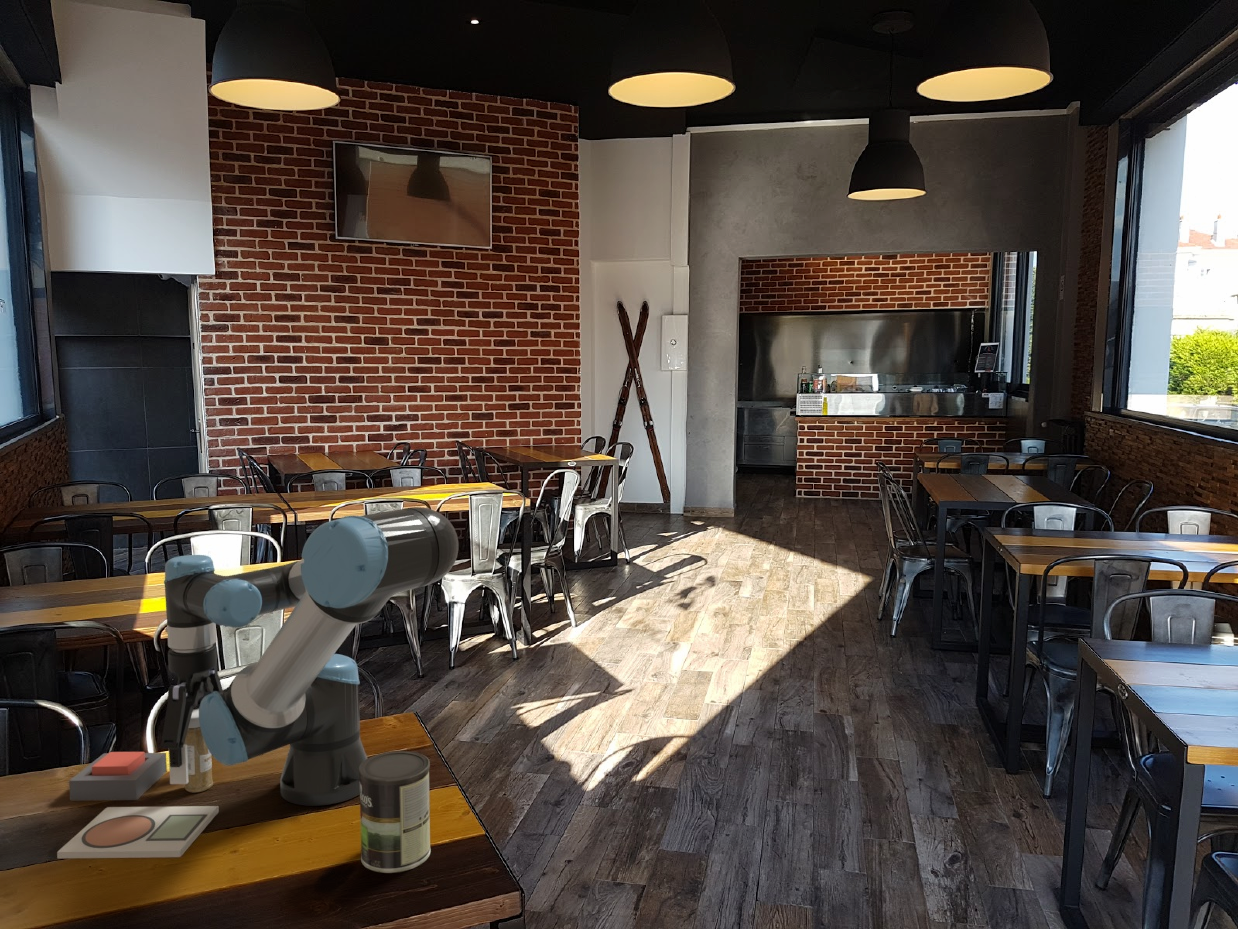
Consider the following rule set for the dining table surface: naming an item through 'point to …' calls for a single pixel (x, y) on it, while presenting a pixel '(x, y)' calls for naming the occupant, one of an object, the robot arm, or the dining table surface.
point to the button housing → (118, 781)
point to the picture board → (139, 832)
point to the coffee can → (394, 811)
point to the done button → (118, 763)
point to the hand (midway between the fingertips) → (197, 765)
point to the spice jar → (197, 757)
